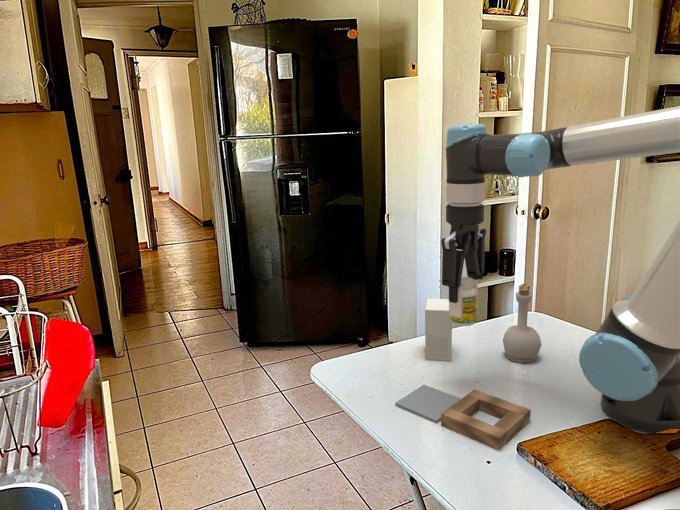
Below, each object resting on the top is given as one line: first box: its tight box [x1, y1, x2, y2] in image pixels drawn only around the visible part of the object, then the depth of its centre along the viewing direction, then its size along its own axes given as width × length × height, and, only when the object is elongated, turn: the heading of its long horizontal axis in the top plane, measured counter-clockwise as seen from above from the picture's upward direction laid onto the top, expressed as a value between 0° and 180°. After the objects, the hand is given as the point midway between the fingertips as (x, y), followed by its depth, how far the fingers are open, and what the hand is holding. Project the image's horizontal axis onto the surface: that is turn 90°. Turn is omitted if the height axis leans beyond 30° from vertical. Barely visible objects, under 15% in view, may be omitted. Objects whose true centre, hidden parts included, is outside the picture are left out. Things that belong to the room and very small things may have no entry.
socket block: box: [440, 389, 532, 451], centre depth 99 cm, size 12×12×2 cm
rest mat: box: [394, 384, 462, 424], centre depth 107 cm, size 10×10×1 cm
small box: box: [424, 298, 453, 362], centre depth 128 cm, size 8×6×13 cm
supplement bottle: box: [450, 276, 477, 327], centre depth 111 cm, size 5×5×10 cm
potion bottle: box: [502, 283, 542, 364], centre depth 124 cm, size 9×9×18 cm
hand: (463, 311), depth 111 cm, fingers closed on supplement bottle, 5 cm apart
